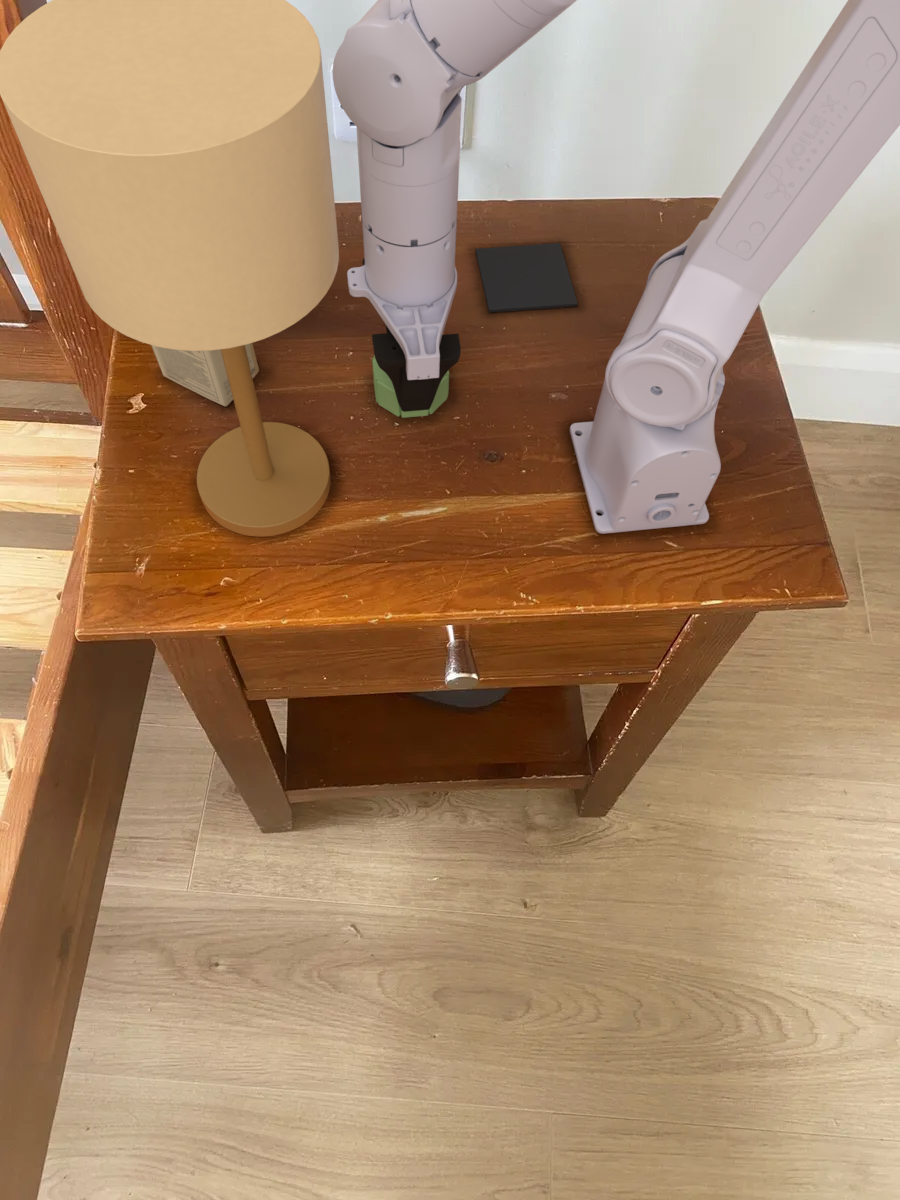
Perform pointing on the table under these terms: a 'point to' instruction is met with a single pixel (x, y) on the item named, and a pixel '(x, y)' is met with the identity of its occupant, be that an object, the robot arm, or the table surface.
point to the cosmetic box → (201, 371)
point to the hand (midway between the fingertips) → (410, 375)
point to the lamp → (191, 200)
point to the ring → (389, 400)
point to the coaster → (525, 277)
